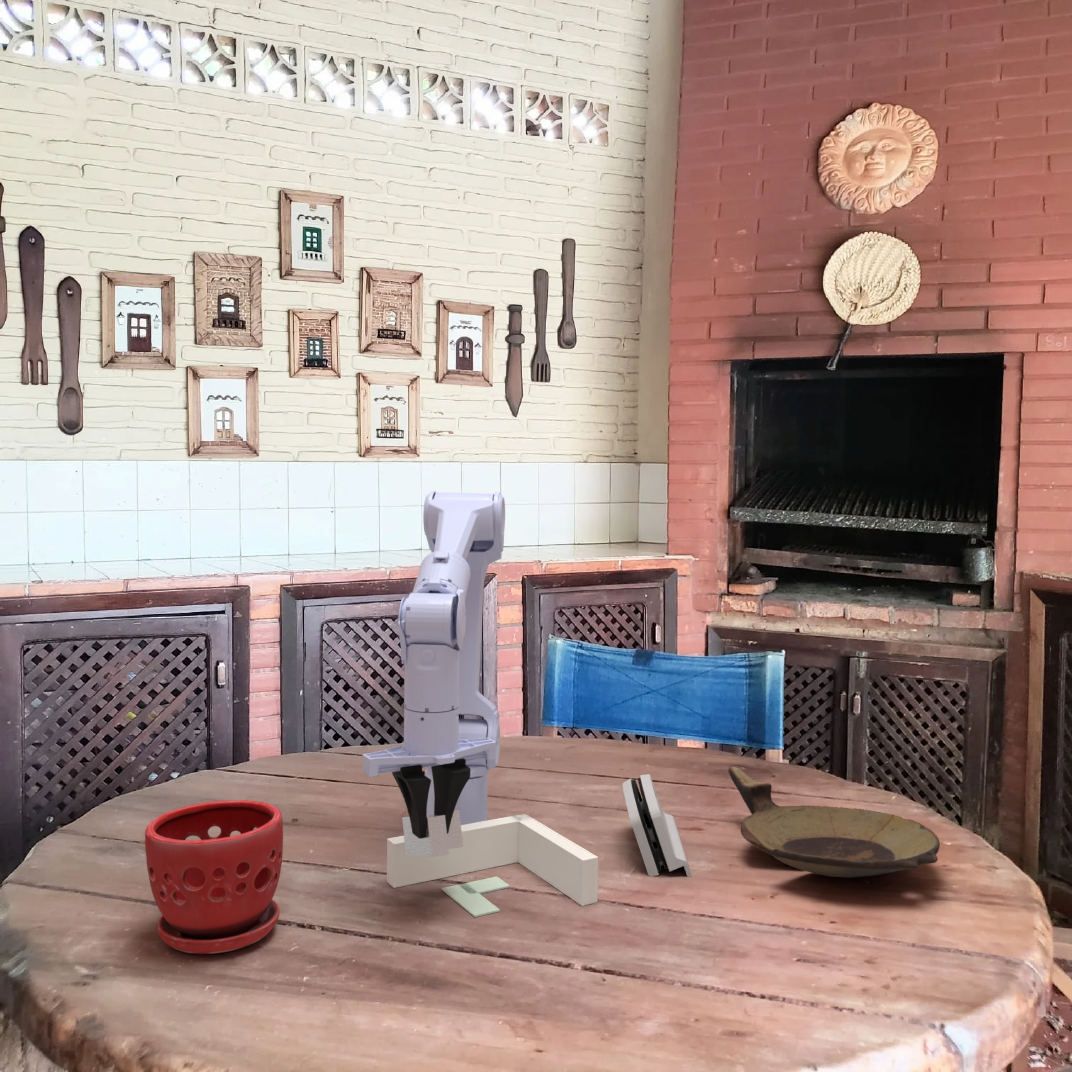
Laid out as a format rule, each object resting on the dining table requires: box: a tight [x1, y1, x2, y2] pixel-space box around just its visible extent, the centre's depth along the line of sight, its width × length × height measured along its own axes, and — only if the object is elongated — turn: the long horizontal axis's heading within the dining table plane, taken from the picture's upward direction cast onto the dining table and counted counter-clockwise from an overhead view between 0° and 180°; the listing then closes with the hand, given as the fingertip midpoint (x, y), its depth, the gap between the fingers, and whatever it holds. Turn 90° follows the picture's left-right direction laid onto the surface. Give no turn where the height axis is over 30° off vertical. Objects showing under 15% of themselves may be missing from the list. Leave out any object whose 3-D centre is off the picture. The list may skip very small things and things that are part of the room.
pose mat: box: [441, 876, 511, 918], centre depth 112 cm, size 8×7×1 cm
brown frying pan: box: [727, 765, 941, 878], centre depth 125 cm, size 22×30×8 cm
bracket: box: [402, 810, 463, 858], centre depth 110 cm, size 7×6×4 cm
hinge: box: [622, 773, 693, 878], centre depth 126 cm, size 17×5×10 cm, turn 178°
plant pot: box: [144, 799, 284, 955], centre depth 102 cm, size 13×13×12 cm
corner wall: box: [386, 813, 599, 907], centre depth 113 cm, size 16×18×5 cm
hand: (430, 833), depth 108 cm, fingers closed on bracket, 2 cm apart
